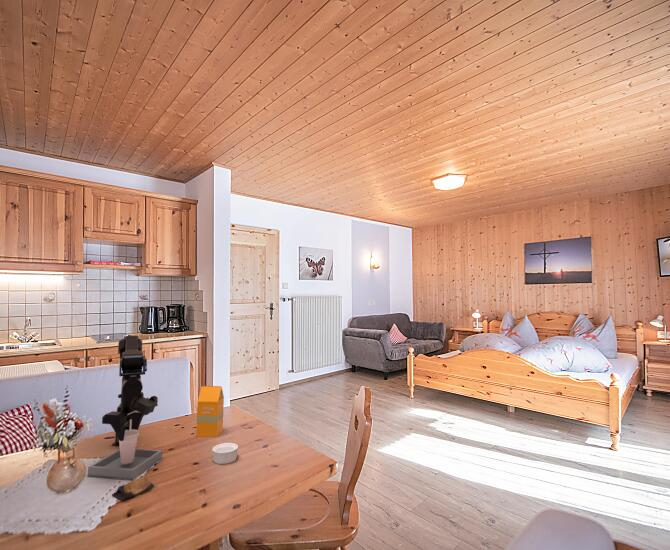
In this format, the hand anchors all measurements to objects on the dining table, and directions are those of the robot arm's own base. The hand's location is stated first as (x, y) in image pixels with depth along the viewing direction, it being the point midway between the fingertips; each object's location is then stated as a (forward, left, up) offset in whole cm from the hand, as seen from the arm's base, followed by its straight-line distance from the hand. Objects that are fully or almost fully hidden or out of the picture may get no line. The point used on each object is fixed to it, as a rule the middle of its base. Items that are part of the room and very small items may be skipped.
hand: (128, 437), depth 124 cm
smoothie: (0, 0, -8) cm, 8 cm away
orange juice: (+13, +34, -10) cm, 38 cm away
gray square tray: (0, 0, -10) cm, 10 cm away
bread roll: (+13, -14, -11) cm, 21 cm away
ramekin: (+30, +11, -10) cm, 34 cm away
